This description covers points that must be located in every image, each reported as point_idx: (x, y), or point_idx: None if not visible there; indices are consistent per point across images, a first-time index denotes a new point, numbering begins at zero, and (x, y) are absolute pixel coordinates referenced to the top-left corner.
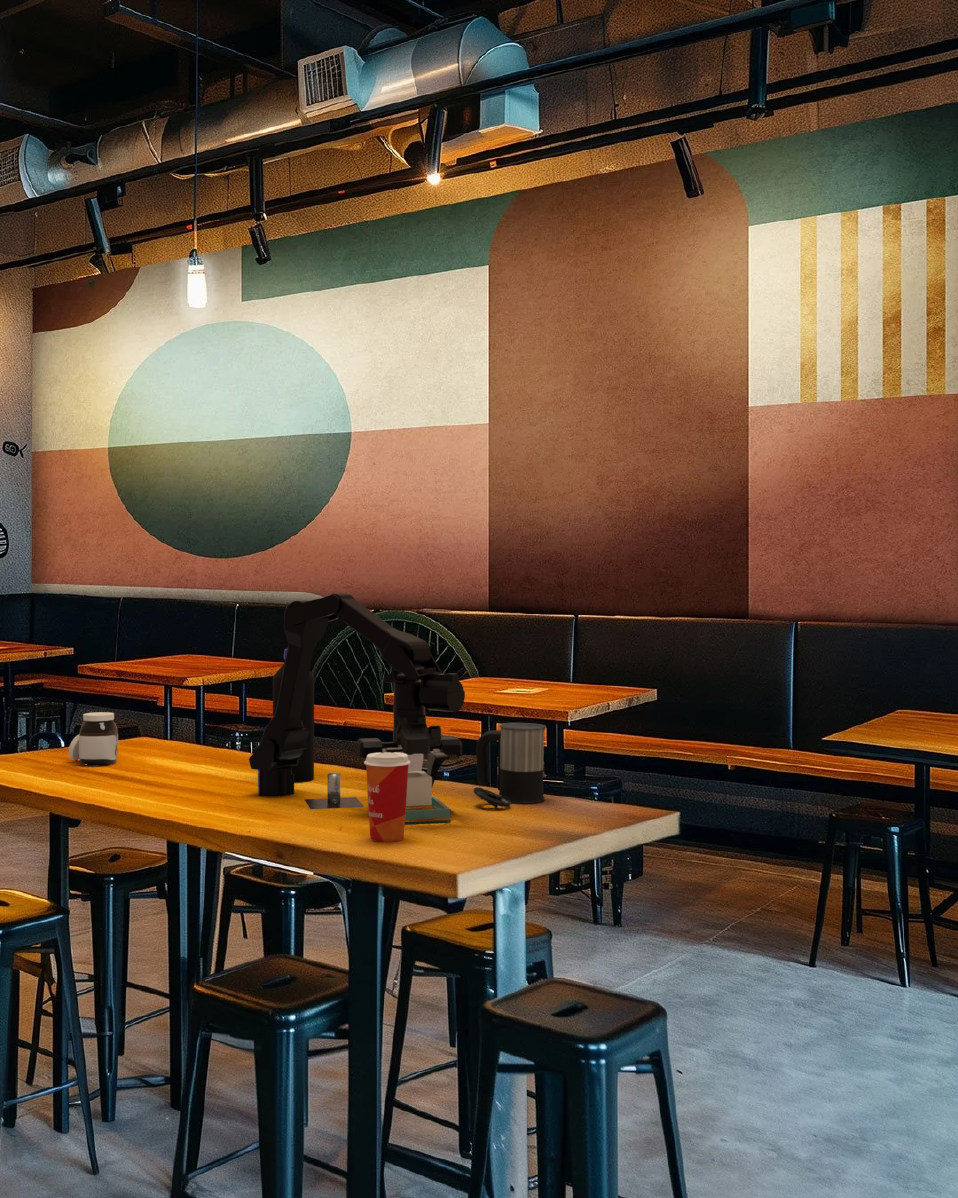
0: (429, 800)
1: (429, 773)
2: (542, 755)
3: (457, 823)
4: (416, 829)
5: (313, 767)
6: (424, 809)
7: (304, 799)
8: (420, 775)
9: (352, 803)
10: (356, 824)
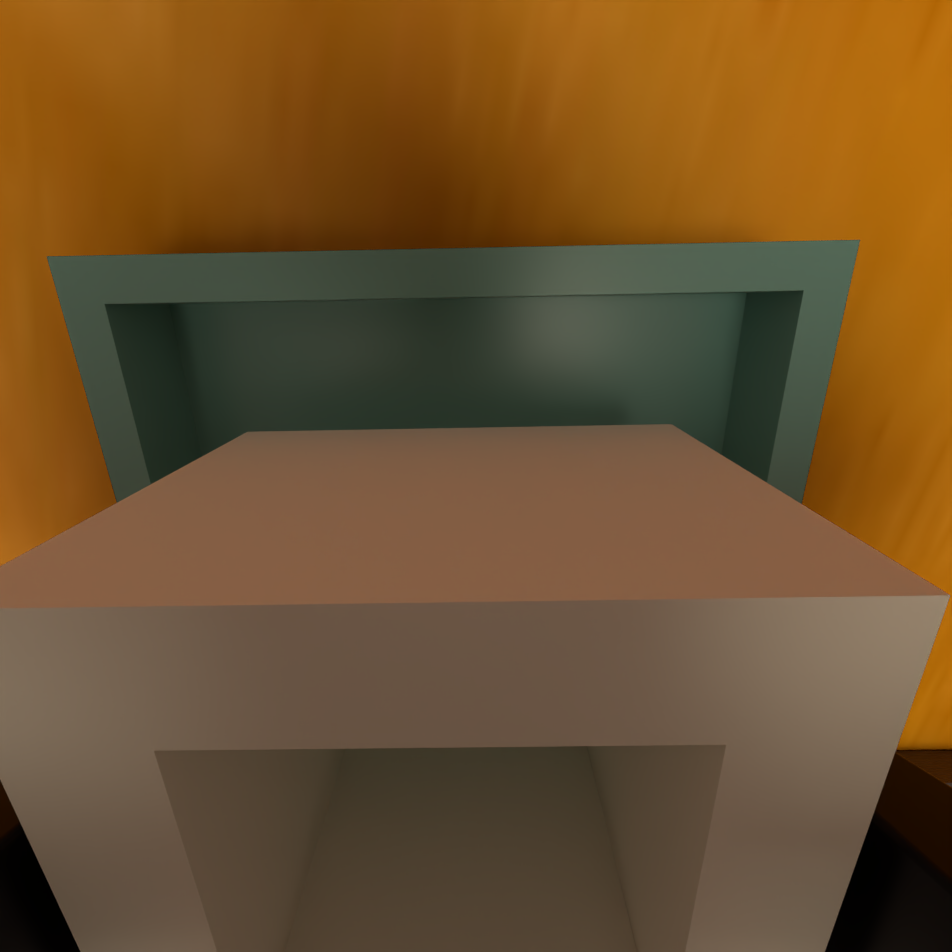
0: (250, 447)
1: (17, 936)
2: None
3: (85, 246)
4: (489, 32)
5: None
6: (346, 287)
7: None
8: (227, 919)
9: None
10: (922, 393)
